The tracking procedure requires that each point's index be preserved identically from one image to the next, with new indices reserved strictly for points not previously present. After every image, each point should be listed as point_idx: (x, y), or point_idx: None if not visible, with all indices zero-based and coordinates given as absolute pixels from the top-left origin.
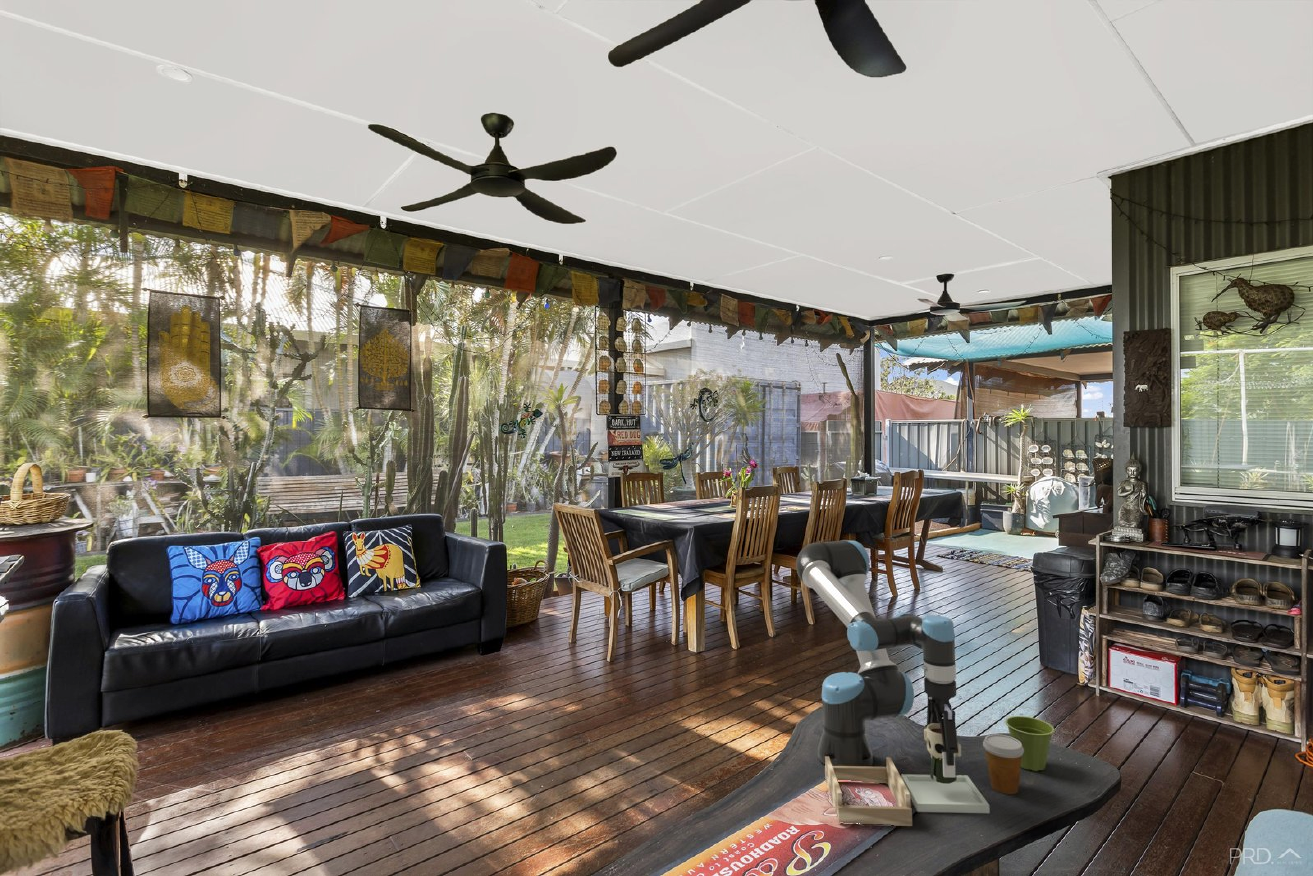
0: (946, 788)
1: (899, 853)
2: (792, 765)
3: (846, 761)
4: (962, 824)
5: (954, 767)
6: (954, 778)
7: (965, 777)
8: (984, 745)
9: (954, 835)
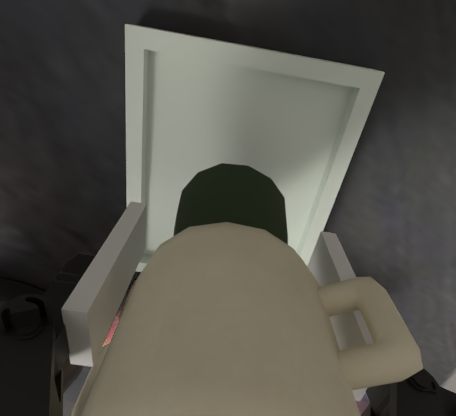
0: (202, 158)
1: (423, 360)
2: (70, 410)
3: (76, 371)
4: (389, 198)
5: (350, 270)
6: (280, 197)
7: (145, 47)
8: None
9: (424, 243)
